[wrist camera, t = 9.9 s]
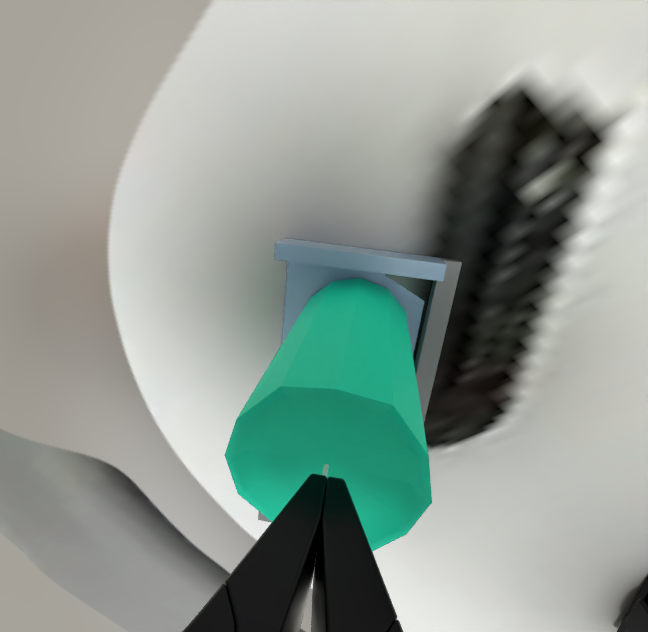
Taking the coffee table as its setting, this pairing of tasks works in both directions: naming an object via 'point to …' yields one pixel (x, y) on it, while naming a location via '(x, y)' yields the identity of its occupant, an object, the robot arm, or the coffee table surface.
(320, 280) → the grey framed panel
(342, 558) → the robot arm
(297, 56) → the coffee table surface
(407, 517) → the candle
